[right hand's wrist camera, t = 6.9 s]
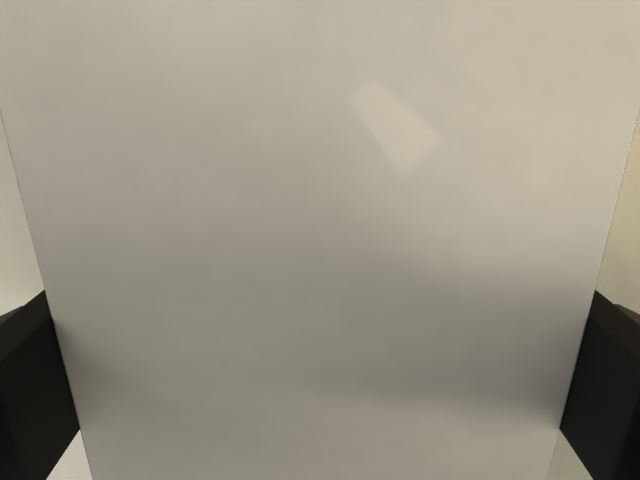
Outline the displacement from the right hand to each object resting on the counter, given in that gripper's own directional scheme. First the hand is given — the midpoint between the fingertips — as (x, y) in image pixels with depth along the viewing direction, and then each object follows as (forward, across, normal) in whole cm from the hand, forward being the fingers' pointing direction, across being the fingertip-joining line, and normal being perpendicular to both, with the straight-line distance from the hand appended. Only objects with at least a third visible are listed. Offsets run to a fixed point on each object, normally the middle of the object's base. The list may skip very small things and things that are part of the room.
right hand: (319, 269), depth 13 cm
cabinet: (+5, 0, -4) cm, 7 cm away
